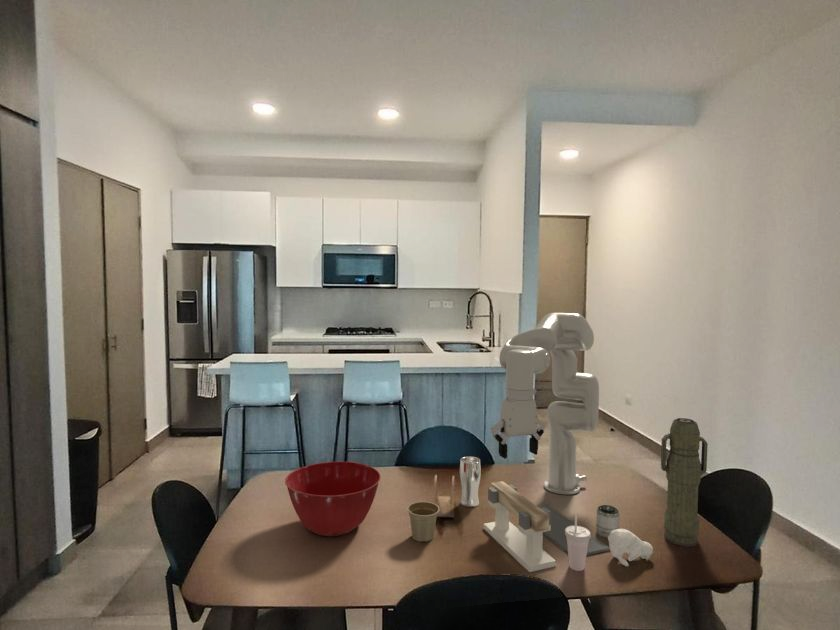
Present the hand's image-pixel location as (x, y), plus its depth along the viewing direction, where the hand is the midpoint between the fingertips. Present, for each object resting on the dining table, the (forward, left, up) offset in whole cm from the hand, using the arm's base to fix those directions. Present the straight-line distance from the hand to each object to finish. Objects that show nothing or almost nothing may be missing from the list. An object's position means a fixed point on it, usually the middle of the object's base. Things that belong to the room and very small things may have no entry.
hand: (518, 455), depth 143 cm
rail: (0, 0, -16) cm, 16 cm away
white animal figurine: (-25, +17, -27) cm, 40 cm away
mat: (-17, -4, -26) cm, 32 cm away
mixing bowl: (+46, -30, -26) cm, 61 cm away
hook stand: (0, 0, -26) cm, 26 cm away
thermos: (-47, +13, -26) cm, 56 cm away
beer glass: (0, -30, -26) cm, 40 cm away
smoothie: (-9, +15, -26) cm, 32 cm away
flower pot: (+23, -14, -26) cm, 38 cm away
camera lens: (-29, +3, -26) cm, 39 cm away
